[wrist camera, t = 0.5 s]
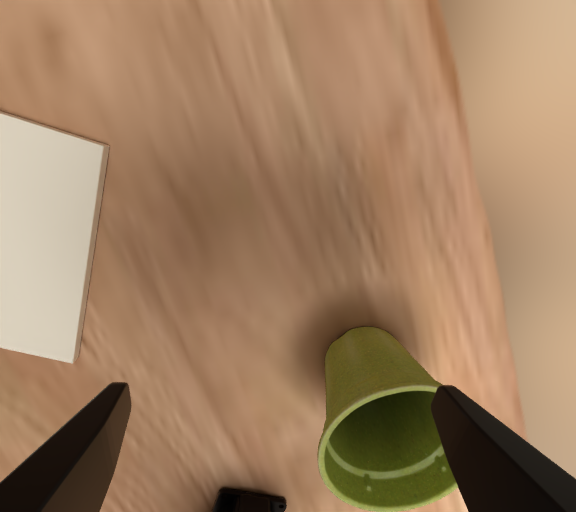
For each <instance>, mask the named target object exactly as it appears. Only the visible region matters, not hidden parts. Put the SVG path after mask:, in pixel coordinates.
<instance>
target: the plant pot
mask: <svg viewBox="0 0 576 512" xmlns="http://www.w3.org/2000/svg"><path fill="white" fill-rule="evenodd" d="M325 382H326V421H325V424H324V429H323V433H322V436H321V439H320V442H319V446H318V467H319V471H320V475H321V477H322V479H323V481H324V483H325V485H326V486H327V488H328V489H329V490H330V491H331V492H332V493H333V494H334V495H335V496H336V497H338V498H339V499H340V500H342V501H344V502H345V503H347V504H350V505H352V506H354V507H357V508H360V509H364V510H368V511H376V512H398V511H406V510H411V509H415V508H418V507H422V506H425V505H428V504H431V503H433V502H435V501H437V500H440V499H441V498H443V497H445V496H446V495H448V494H450V493H452V492H453V491H454V490H455V489H457V488H458V485H457V483H456V481H455V478H454V476H453V474H452V471H451V469H450V467H449V464H448V461H447V459H446V456H445V453H444V450H443V447H442V443H441V440H440V437H439V434H438V431H437V428H436V425H435V422H434V419H433V416H432V413H431V402H432V400H433V397H434V395H435V393H436V390H437V388H438V387H439V386H440V385H442V384H441V383H439V382H437V381H435V380H434V379H433V378H432V377H431V376H430V375H429V374H428V373H427V372H426V370H425V369H424V368H423V367H422V366H421V365H420V364H419V363H418V362H417V361H416V360H415V359H414V358H413V357H412V356H411V355H410V354H409V353H408V352H407V351H406V349H405V348H404V347H403V346H402V345H401V344H400V343H399V342H398V341H397V340H396V339H395V338H394V337H393V336H392V335H391V334H389V333H388V332H386V331H384V330H382V329H379V328H376V327H359V328H354V329H351V330H349V331H347V332H346V333H345V334H344V335H343V336H341V337H340V338H339V339H337V340H336V341H334V342H333V343H332V344H331V345H330V347H329V349H328V351H327V353H326V357H325Z"/></svg>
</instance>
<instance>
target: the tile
mask: <svg viewBox="0 0 576 512" xmlns="http://www.w3.org/2000/svg"><path fill="white" fill-rule="evenodd" d="M109 147H110V146H109V145H106V144H103V143H100V142H97V141H93V140H90V139H87V138H84V137H81V136H78V135H75V134H72V133H68V132H65V131H62V130H59V129H56V128H53V127H50V126H46V125H43V124H40V123H37V122H34V121H31V120H28V119H25V118H21V117H18V116H15V115H12V114H9V113H6V112H3V111H0V348H4V349H9V350H13V351H18V352H22V353H27V354H32V355H36V356H41V357H45V358H50V359H54V360H59V361H63V362H68V363H72V364H73V363H74V362H75V360H76V359H77V358H78V357H79V351H80V344H81V337H82V330H83V324H84V317H85V310H86V303H87V296H88V290H89V283H90V276H91V269H92V262H93V256H94V249H95V242H96V235H97V228H98V222H99V215H100V208H101V201H102V194H103V188H104V181H105V174H106V167H107V160H108V154H109Z"/></svg>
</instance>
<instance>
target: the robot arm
mask: <svg viewBox="0 0 576 512" xmlns="http://www.w3.org/2000/svg"><path fill="white" fill-rule="evenodd" d="M130 412H131V398H130V391H129V385H128V383H125V382H113V383H111V384H109V385H108V386H107V387H106V388H105V389H104V390H102V391H101V392H100V393H99V394H98V395H97V396H96V397H95V398H94V399H92V400H91V401H90V402H89V403H88V404H87V405H86V406H85V407H84V408H82V409H81V410H80V411H79V412H78V413H77V414H76V415H75V416H74V417H72V418H71V419H70V420H69V421H68V422H67V423H66V424H65V425H64V426H62V427H61V428H60V429H59V430H58V431H57V432H56V433H55V434H54V435H52V436H51V437H50V438H49V439H48V440H47V441H46V442H45V443H44V444H42V445H41V446H40V447H39V448H38V449H37V450H36V451H35V452H34V453H32V454H31V455H30V456H29V457H28V458H27V459H26V460H25V461H24V462H22V463H21V464H20V465H19V466H18V467H17V468H16V469H15V470H14V471H12V472H11V473H10V474H9V475H8V476H7V477H6V478H5V479H4V480H2V481H1V482H0V512H99V511H100V509H101V506H102V504H103V501H104V498H105V496H106V493H107V490H108V488H109V485H110V483H111V480H112V477H113V474H114V471H115V468H116V464H117V461H118V457H119V453H120V449H121V446H122V442H123V438H124V434H125V431H126V427H127V423H128V419H129V416H130ZM431 413H432V416H433V419H434V422H435V425H436V428H437V431H438V434H439V437H440V440H441V443H442V447H443V450H444V453H445V456H446V459H447V461H448V464H449V467H450V469H451V471H452V474H453V476H454V478H455V481H456V483H457V485H458V488H459V490H460V492H461V495H462V497H463V499H464V502H465V504H466V506H467V509H468V511H469V512H576V479H575V478H574V477H572V476H571V475H569V474H568V473H567V472H566V471H564V470H563V469H562V468H561V467H559V466H558V465H557V464H555V463H554V462H552V461H551V460H550V459H549V458H547V457H546V456H545V455H543V454H542V453H541V452H540V451H538V450H537V449H536V448H534V447H533V446H532V445H530V444H529V443H528V442H527V441H525V440H524V439H523V438H521V437H520V436H519V435H517V434H516V433H515V432H513V431H512V430H511V429H510V428H508V427H507V426H506V425H504V424H503V423H502V422H500V421H499V420H498V419H496V418H495V417H494V416H493V415H491V414H490V413H489V412H487V411H486V410H485V409H483V408H482V407H481V406H479V405H478V404H477V403H476V402H474V401H473V400H472V399H470V398H469V397H468V396H466V395H465V394H464V393H462V392H461V391H460V390H459V389H457V388H456V387H454V386H452V385H440V386H439V387H438V388H437V390H436V393H435V395H434V397H433V400H432V402H431ZM286 506H287V504H286V500H285V499H282V498H277V497H271V496H265V495H260V494H254V493H248V492H243V491H237V490H232V489H226V488H223V489H221V490H220V491H219V493H218V495H217V498H216V501H215V503H214V506H213V509H212V512H284V511H285V509H286Z"/></svg>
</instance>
